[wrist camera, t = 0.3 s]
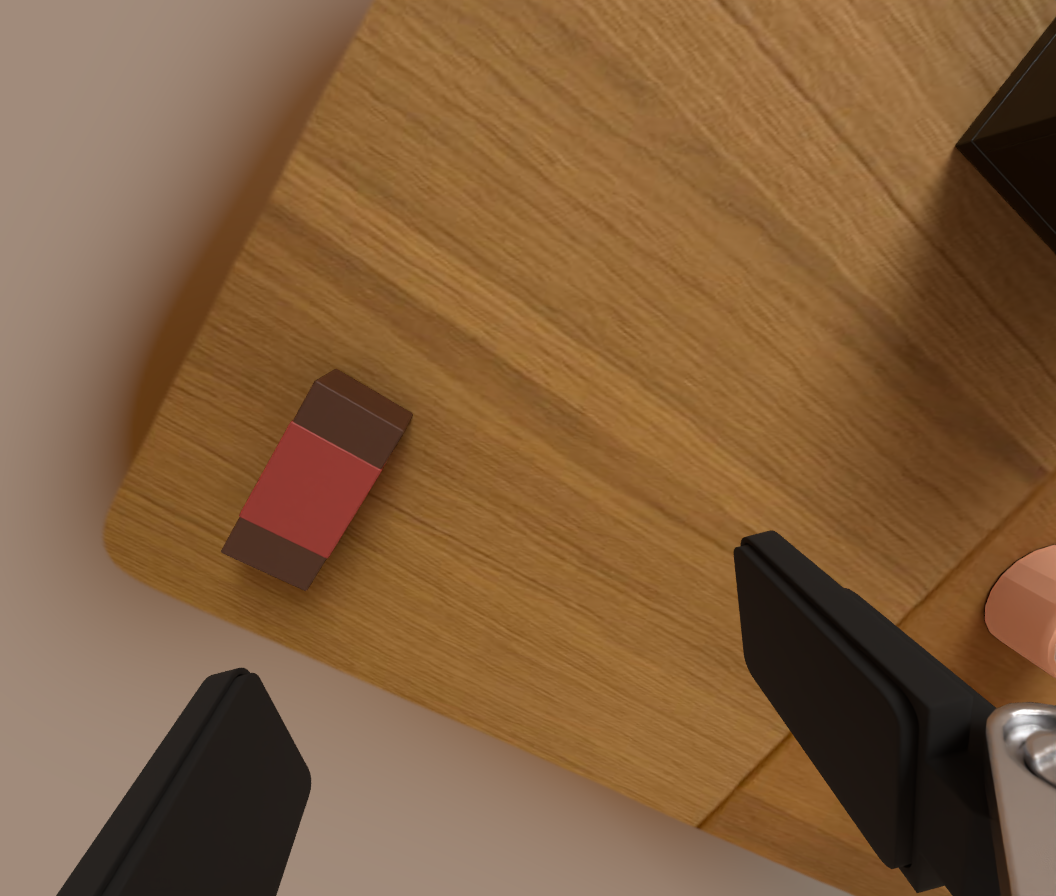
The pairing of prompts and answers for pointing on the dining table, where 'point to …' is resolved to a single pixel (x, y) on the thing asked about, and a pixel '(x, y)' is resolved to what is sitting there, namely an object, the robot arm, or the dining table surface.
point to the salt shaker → (1027, 608)
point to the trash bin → (1022, 139)
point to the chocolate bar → (316, 479)
